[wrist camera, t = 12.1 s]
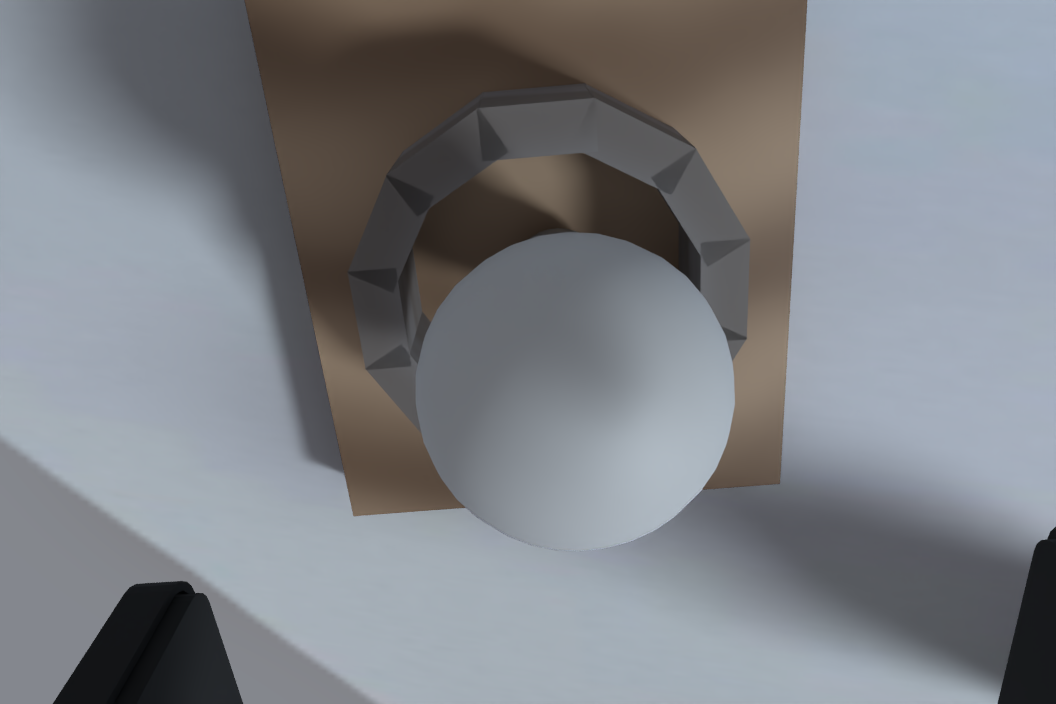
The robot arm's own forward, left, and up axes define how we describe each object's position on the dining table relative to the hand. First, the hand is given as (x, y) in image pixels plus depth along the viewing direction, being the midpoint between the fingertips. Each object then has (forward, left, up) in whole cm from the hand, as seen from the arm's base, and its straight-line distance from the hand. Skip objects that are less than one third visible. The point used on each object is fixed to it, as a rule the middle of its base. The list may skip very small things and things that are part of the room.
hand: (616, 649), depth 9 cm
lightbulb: (0, 0, -15) cm, 15 cm away
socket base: (0, 0, -17) cm, 17 cm away
